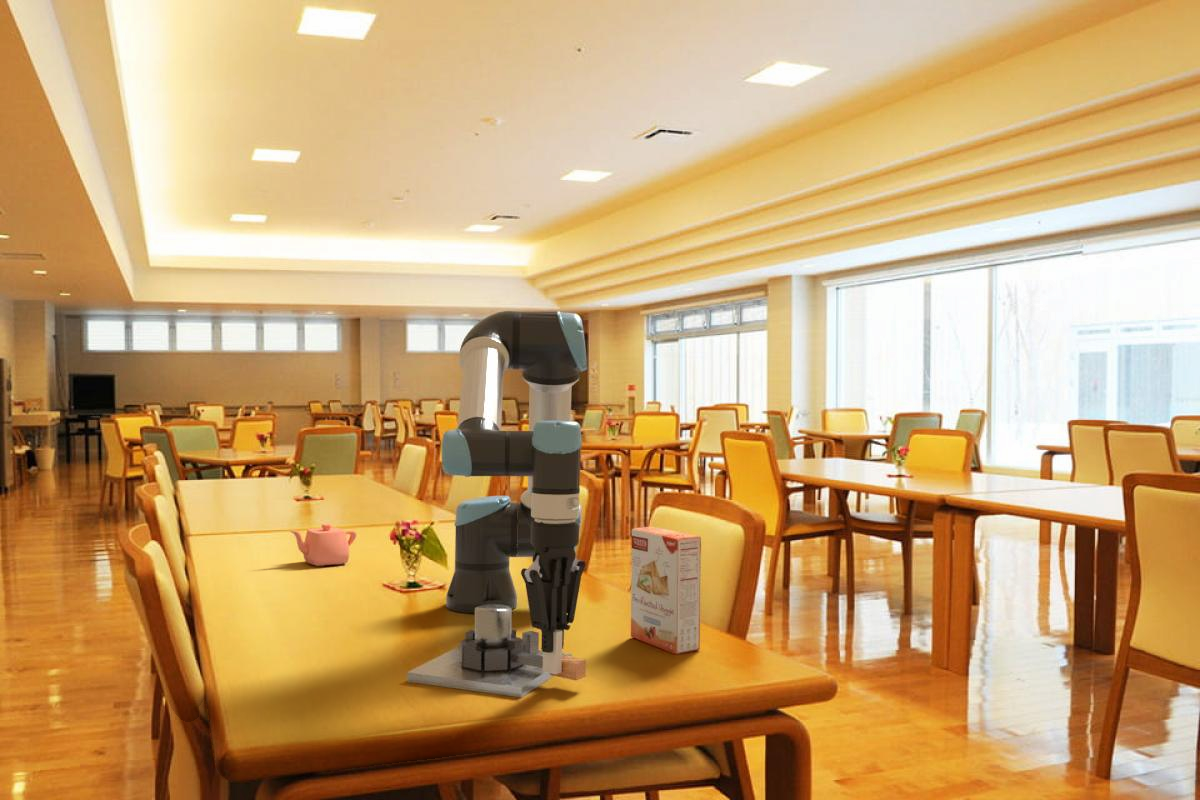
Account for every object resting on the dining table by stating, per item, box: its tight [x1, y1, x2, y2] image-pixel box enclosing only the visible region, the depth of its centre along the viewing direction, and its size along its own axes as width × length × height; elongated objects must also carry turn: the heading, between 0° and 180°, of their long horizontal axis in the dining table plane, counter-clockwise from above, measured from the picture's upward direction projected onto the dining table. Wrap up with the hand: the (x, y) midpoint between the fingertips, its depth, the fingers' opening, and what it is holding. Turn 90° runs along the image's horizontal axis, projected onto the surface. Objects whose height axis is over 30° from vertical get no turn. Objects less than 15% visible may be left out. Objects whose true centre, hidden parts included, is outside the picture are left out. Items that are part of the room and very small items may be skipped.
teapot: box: [289, 523, 358, 567], centre depth 252 cm, size 12×18×10 cm, turn 124°
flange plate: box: [406, 604, 573, 698], centre depth 158 cm, size 20×20×10 cm
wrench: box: [459, 628, 587, 681], centre depth 154 cm, size 23×10×4 cm, turn 57°
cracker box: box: [630, 526, 702, 655], centre depth 176 cm, size 14×6×21 cm, turn 34°
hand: (552, 671), depth 149 cm, fingers closed
